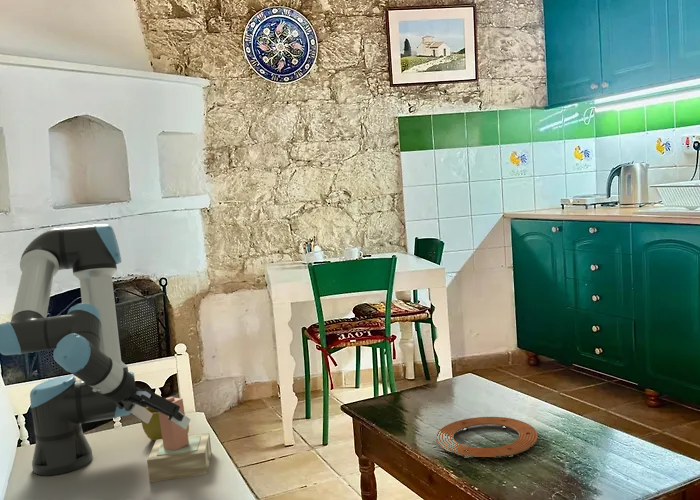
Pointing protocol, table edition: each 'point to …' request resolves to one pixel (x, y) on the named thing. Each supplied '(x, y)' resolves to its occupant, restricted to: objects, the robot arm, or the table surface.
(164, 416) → the pink knobbed block
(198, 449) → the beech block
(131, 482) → the table surface
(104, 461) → the table surface
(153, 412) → the flower pot
